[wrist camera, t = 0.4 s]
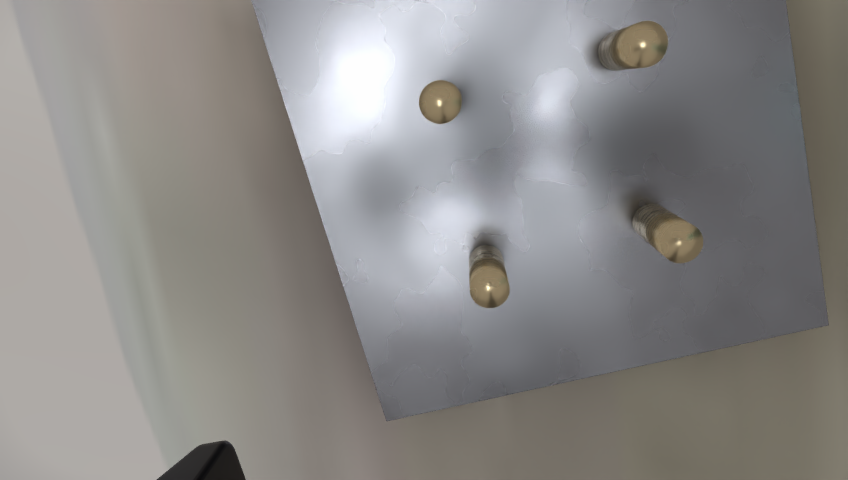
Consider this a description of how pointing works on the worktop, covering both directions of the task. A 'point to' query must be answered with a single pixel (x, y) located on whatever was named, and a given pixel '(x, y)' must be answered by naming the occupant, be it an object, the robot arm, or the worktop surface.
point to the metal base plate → (550, 183)
